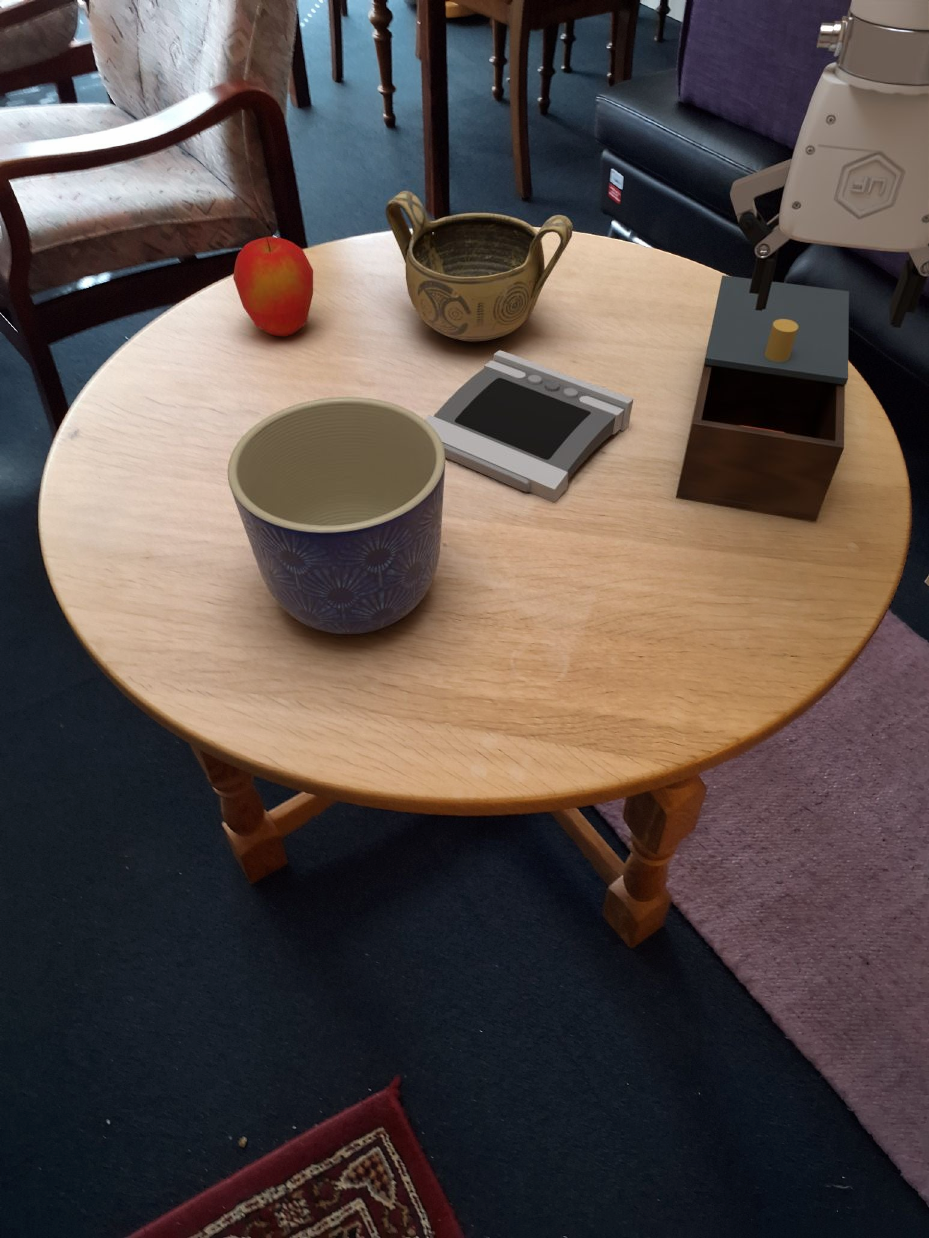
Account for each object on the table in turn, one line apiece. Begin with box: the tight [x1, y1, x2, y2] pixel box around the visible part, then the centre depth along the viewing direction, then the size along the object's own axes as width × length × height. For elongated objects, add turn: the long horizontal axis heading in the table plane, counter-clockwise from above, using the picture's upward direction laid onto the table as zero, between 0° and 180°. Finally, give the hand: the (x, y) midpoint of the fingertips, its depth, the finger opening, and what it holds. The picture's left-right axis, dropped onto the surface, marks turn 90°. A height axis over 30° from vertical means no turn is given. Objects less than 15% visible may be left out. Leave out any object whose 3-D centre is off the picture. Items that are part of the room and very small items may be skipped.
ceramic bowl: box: [385, 190, 574, 343], centre depth 106 cm, size 22×17×15 cm
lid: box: [703, 274, 850, 386], centre depth 92 cm, size 14×18×4 cm
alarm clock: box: [424, 349, 634, 503], centre depth 95 cm, size 17×5×16 cm
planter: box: [227, 396, 446, 635], centre depth 76 cm, size 17×17×15 cm
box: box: [675, 331, 846, 523], centre depth 91 cm, size 14×18×9 cm
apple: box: [232, 236, 314, 337], centre depth 107 cm, size 9×9×12 cm
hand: (826, 310), depth 67 cm, fingers open, 9 cm apart
